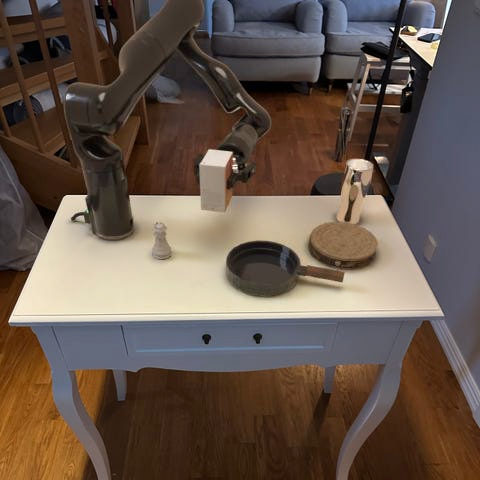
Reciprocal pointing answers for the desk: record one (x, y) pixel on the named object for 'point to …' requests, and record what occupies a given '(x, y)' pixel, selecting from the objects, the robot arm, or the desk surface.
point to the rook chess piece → (161, 242)
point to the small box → (215, 180)
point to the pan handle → (321, 273)
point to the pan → (262, 267)
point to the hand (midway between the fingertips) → (213, 183)
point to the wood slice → (342, 245)
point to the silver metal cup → (354, 189)
